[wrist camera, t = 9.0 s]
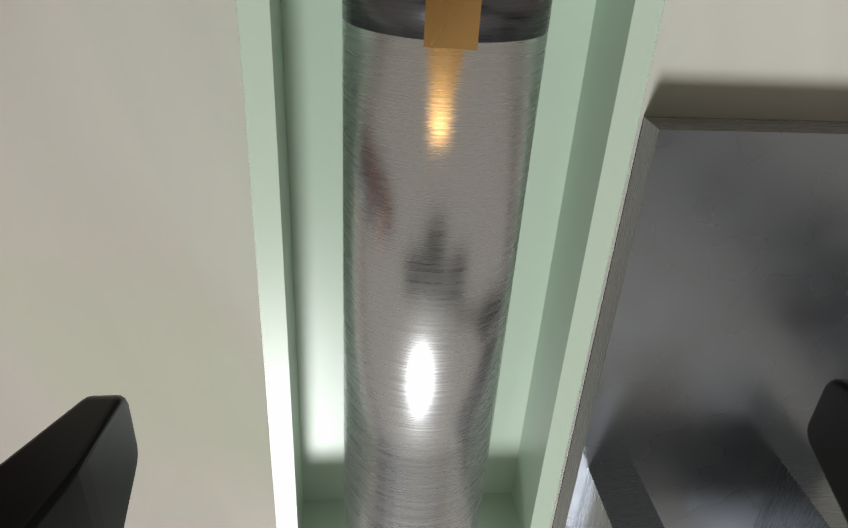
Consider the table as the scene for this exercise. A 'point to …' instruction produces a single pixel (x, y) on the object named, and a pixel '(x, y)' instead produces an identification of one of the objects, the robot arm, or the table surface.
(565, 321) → the tray
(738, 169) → the bracket
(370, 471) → the silver oval rod
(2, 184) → the table surface
